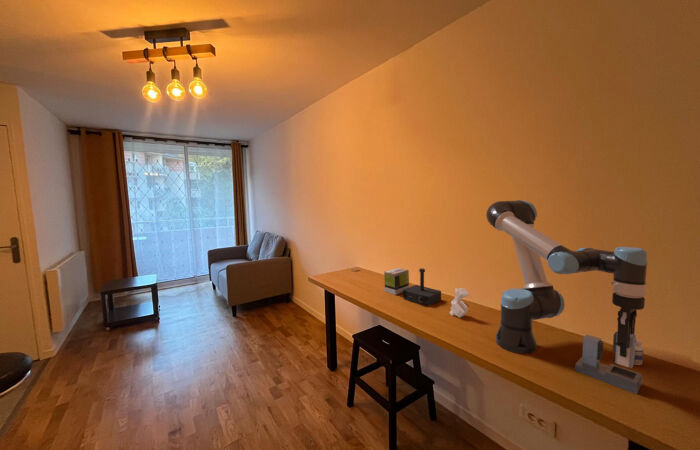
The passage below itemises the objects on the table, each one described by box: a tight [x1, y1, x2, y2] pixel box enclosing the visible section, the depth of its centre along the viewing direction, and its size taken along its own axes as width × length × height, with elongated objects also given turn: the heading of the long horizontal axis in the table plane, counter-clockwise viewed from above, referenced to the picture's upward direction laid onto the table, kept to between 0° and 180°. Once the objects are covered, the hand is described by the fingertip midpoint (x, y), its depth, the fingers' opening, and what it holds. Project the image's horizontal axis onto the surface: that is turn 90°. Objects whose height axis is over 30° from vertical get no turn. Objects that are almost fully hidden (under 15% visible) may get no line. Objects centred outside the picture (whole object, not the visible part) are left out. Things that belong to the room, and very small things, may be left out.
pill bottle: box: [634, 337, 644, 366], centre depth 106 cm, size 5×5×9 cm
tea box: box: [383, 267, 410, 296], centre depth 195 cm, size 15×10×15 cm, turn 130°
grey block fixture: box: [574, 334, 643, 395], centre depth 97 cm, size 16×8×12 cm, turn 36°
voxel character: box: [448, 287, 470, 319], centre depth 151 cm, size 7×12×15 cm
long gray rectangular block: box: [612, 331, 637, 369], centre depth 94 cm, size 5×4×10 cm
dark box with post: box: [402, 268, 442, 307], centre depth 176 cm, size 19×17×20 cm
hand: (624, 362), depth 94 cm, fingers closed on long gray rectangular block, 4 cm apart
